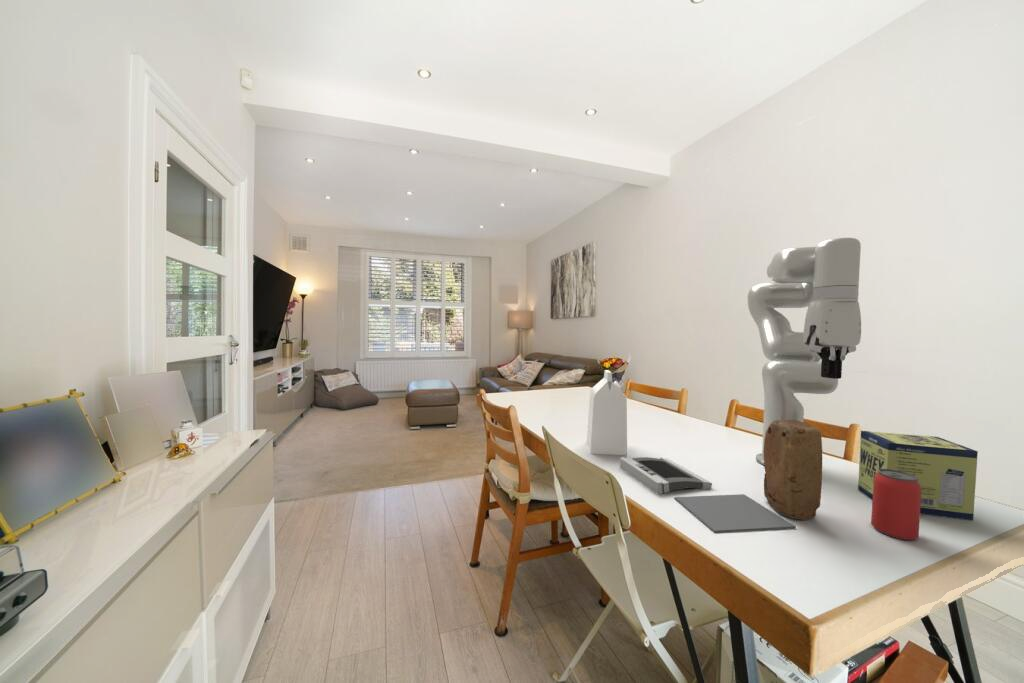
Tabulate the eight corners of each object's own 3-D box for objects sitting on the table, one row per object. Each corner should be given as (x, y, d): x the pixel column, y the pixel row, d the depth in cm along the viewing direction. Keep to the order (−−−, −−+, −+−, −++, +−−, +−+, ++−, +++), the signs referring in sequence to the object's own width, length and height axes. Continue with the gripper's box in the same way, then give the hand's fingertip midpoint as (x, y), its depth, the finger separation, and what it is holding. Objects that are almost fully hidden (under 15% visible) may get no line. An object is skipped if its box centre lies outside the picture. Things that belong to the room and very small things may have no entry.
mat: (743, 495, 87) (743, 494, 87) (795, 528, 73) (795, 526, 73) (674, 498, 85) (674, 497, 85) (714, 532, 71) (714, 530, 71)
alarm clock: (619, 457, 103) (668, 449, 107) (620, 473, 104) (668, 464, 108) (657, 483, 87) (713, 472, 91) (658, 501, 87) (713, 489, 91)
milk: (586, 441, 127) (588, 368, 126) (619, 443, 126) (621, 369, 125) (590, 453, 115) (592, 373, 114) (627, 455, 114) (629, 374, 113)
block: (823, 524, 75) (828, 430, 74) (785, 521, 76) (789, 428, 75) (790, 499, 85) (794, 416, 85) (756, 497, 86) (760, 415, 86)
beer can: (861, 522, 76) (864, 467, 75) (893, 523, 75) (897, 467, 75) (893, 541, 69) (897, 480, 68) (929, 542, 69) (933, 481, 68)
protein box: (855, 489, 91) (859, 429, 91) (935, 499, 87) (939, 436, 86) (883, 509, 82) (888, 442, 81) (975, 521, 77) (980, 450, 76)
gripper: (847, 298, 84) (843, 375, 85) (789, 296, 82) (786, 375, 83) (883, 295, 77) (878, 380, 77) (821, 293, 75) (817, 380, 76)
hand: (830, 377), depth 80 cm, fingers closed
